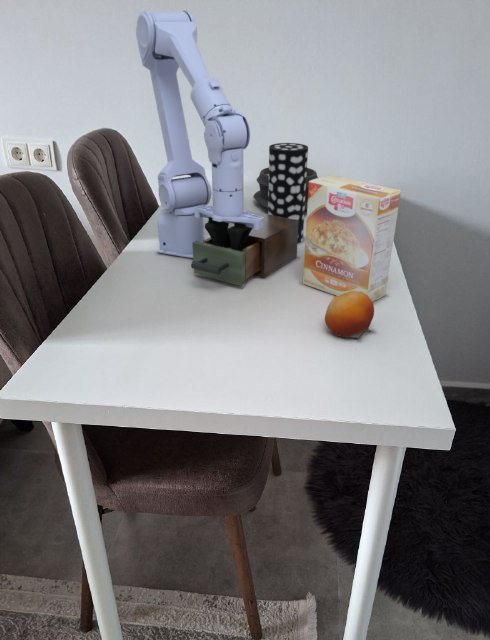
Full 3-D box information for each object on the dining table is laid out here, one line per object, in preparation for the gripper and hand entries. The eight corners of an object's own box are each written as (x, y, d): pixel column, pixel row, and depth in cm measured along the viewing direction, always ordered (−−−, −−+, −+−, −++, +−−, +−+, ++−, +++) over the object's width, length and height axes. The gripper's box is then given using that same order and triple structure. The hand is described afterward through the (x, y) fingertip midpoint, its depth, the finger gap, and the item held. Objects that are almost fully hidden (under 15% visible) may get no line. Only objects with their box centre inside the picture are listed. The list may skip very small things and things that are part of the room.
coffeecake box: (301, 284, 112) (307, 180, 101) (323, 273, 116) (331, 173, 105) (364, 307, 103) (379, 197, 92) (386, 295, 108) (402, 188, 96)
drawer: (229, 293, 106) (228, 261, 102) (180, 280, 111) (178, 248, 107) (275, 265, 117) (276, 235, 114) (229, 254, 122) (228, 225, 119)
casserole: (322, 218, 146) (325, 184, 141) (250, 216, 147) (250, 182, 142) (319, 192, 166) (322, 161, 161) (256, 190, 167) (256, 160, 162)
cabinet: (264, 278, 114) (264, 238, 109) (212, 265, 119) (211, 227, 115) (296, 257, 123) (298, 220, 119) (247, 246, 129) (247, 210, 124)
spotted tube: (262, 242, 131) (263, 148, 120) (274, 231, 138) (277, 141, 126) (296, 247, 129) (301, 152, 117) (307, 235, 135) (313, 144, 124)
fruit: (372, 342, 90) (352, 296, 87) (331, 353, 95) (311, 309, 93) (390, 322, 95) (372, 278, 93) (350, 333, 100) (332, 292, 98)
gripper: (183, 187, 105) (187, 258, 113) (249, 199, 99) (249, 273, 106) (205, 178, 110) (208, 247, 118) (270, 190, 104) (268, 261, 111)
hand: (229, 259), depth 112 cm, fingers closed on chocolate, 3 cm apart
